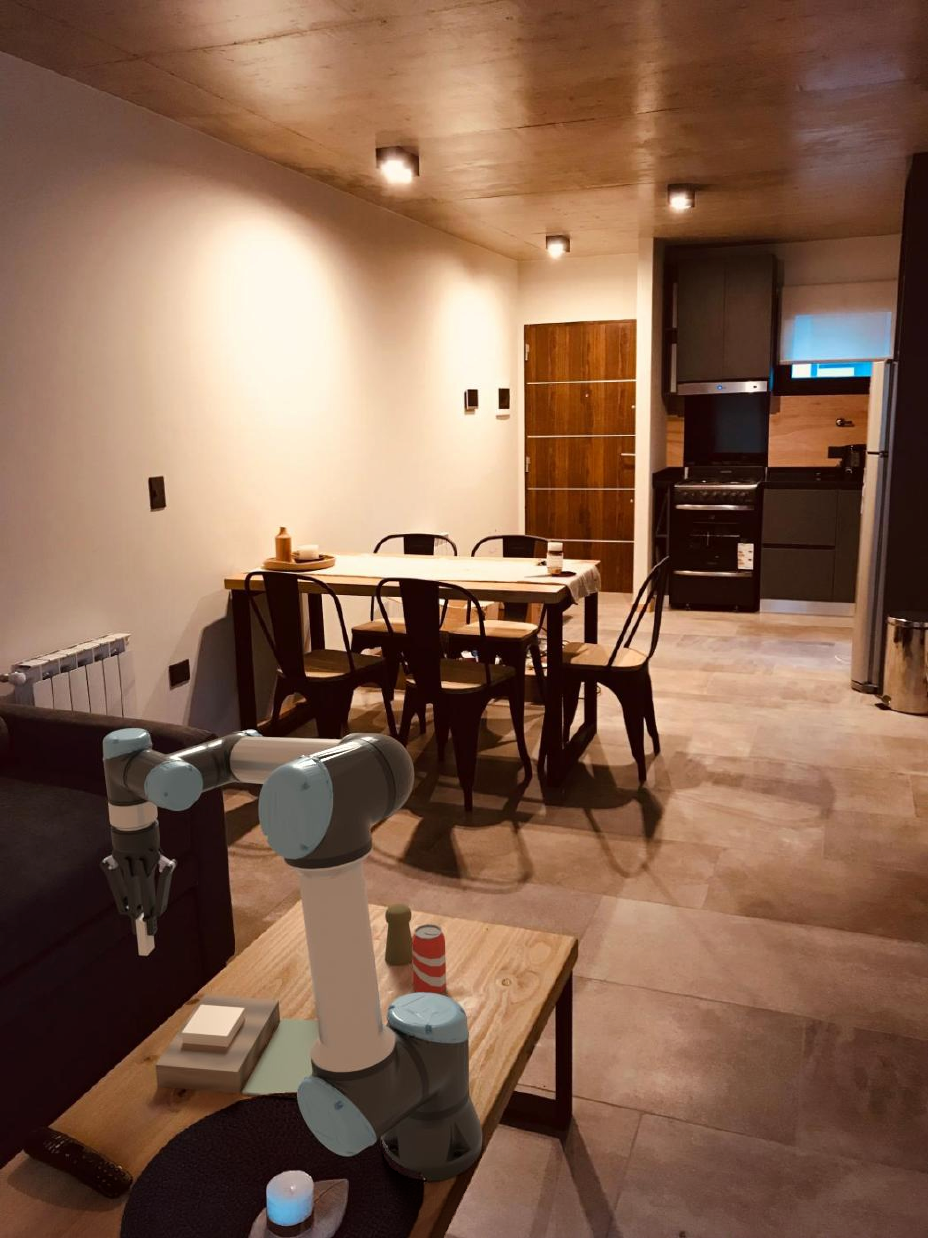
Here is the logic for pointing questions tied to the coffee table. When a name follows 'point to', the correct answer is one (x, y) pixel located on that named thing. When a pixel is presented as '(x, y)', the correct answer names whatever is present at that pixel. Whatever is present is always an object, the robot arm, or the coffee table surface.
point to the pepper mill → (398, 935)
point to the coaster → (213, 1025)
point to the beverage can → (429, 959)
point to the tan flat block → (220, 1050)
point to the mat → (284, 1058)
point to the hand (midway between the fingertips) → (146, 951)
